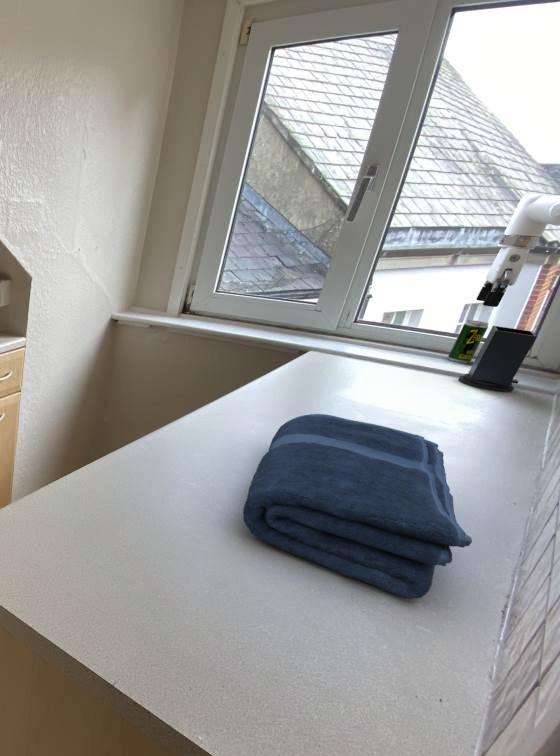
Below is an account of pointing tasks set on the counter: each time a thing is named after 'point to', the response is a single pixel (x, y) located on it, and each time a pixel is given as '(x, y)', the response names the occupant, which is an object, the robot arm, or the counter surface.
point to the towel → (356, 501)
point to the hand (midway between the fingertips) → (486, 303)
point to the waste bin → (501, 357)
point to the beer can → (468, 341)
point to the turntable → (485, 386)
